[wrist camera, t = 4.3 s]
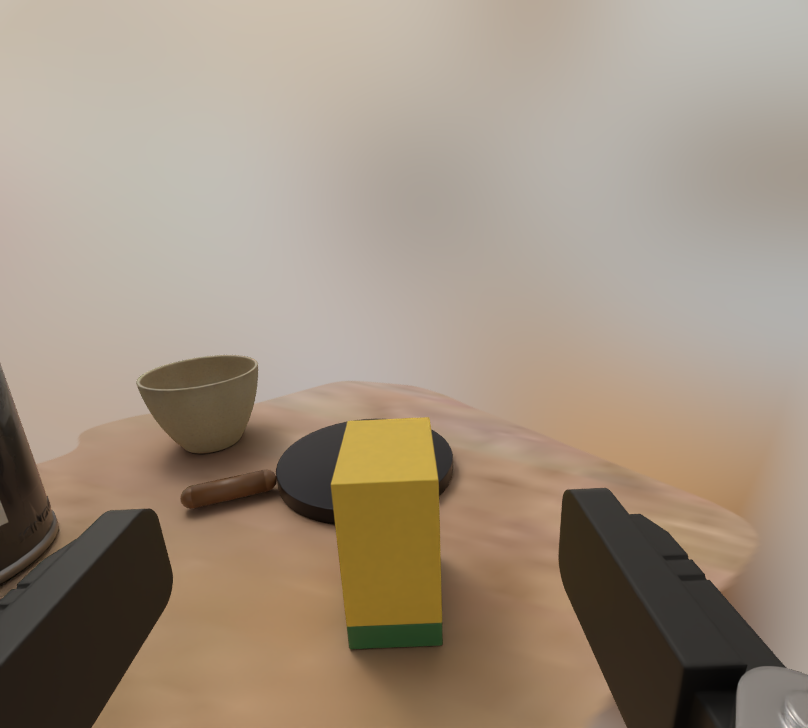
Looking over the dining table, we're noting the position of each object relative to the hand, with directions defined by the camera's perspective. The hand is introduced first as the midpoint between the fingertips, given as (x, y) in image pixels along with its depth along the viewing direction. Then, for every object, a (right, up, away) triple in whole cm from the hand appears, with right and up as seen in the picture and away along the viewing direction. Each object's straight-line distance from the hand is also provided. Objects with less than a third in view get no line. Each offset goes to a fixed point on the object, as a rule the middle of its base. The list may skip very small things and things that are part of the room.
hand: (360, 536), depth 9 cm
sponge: (0, -9, +15) cm, 17 cm away
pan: (-5, -6, +26) cm, 27 cm away
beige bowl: (-17, -4, +33) cm, 38 cm away
